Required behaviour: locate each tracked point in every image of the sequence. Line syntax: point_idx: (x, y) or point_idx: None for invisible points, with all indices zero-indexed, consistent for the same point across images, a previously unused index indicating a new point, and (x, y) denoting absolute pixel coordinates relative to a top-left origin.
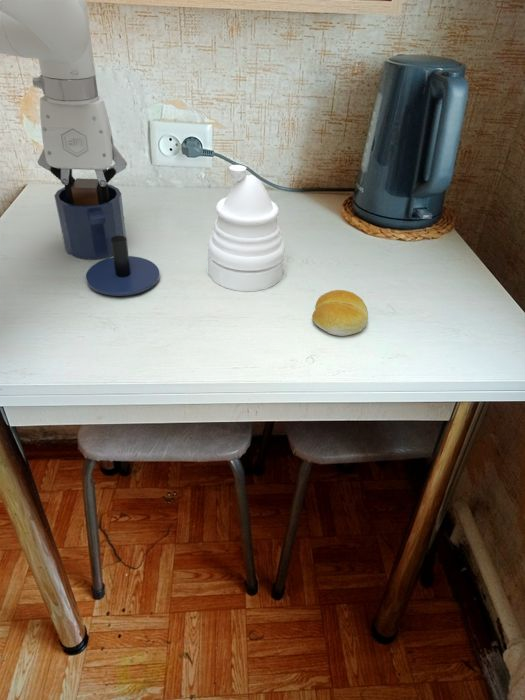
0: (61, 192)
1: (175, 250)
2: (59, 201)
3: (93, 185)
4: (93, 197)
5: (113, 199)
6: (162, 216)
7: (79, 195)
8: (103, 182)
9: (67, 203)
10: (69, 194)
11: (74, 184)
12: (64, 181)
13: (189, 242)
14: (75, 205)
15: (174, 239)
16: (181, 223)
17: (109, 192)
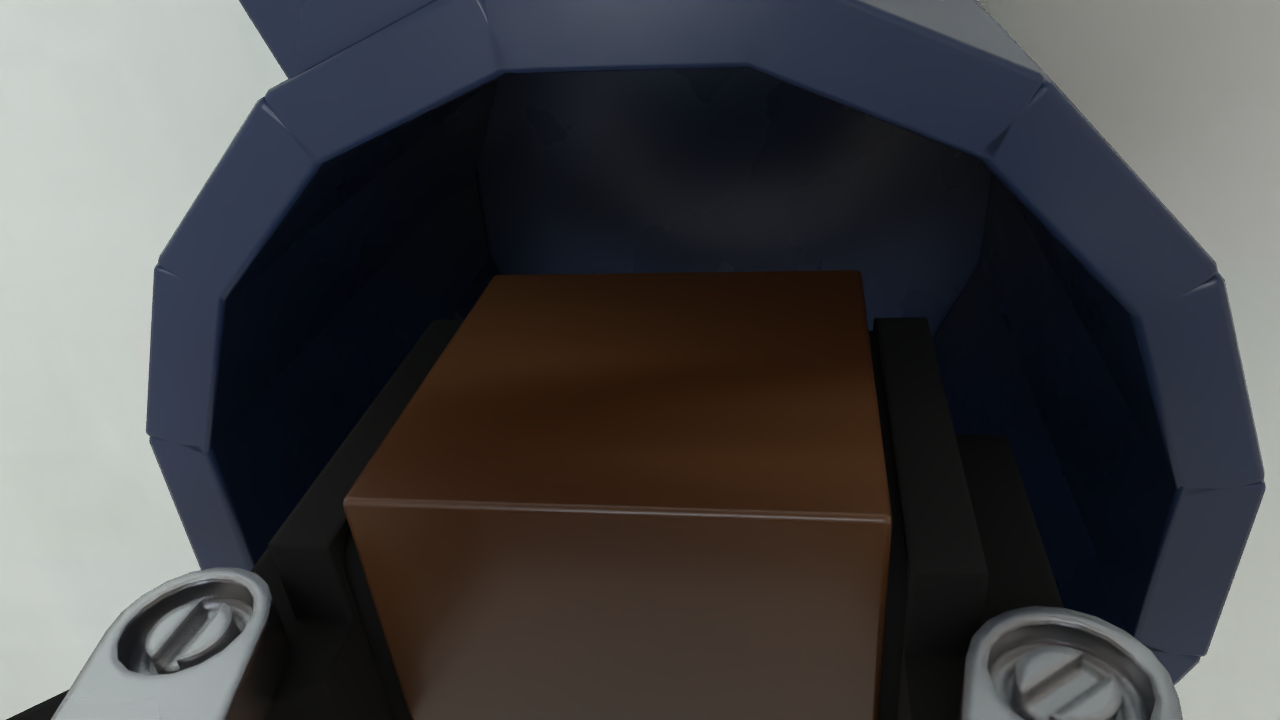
0: (1131, 611)
1: (44, 167)
2: (1142, 233)
3: (447, 615)
4: (482, 385)
5: (191, 387)
6: None
7: (736, 409)
8: (165, 631)
9: None
10: (949, 450)
11: (843, 648)
12: (1074, 685)
13: (11, 304)
14: (844, 306)
15: (136, 343)
16: (197, 562)
17: None
